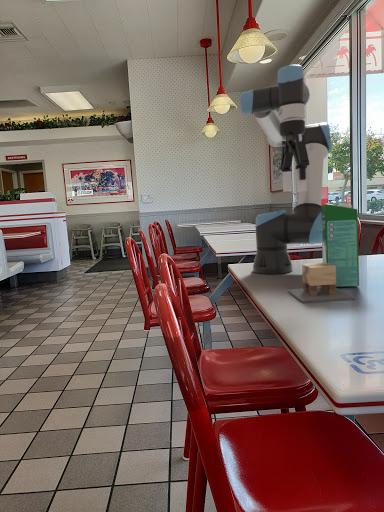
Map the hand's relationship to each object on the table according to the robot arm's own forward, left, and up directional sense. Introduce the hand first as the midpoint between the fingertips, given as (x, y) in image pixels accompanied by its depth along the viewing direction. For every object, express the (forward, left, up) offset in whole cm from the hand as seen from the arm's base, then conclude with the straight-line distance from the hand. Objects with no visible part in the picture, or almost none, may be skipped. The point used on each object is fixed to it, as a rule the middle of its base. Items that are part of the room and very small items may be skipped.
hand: (294, 191), depth 120 cm
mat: (+16, +1, -30) cm, 34 cm away
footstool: (+16, +1, -29) cm, 33 cm away
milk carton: (+6, +12, -30) cm, 32 cm away
